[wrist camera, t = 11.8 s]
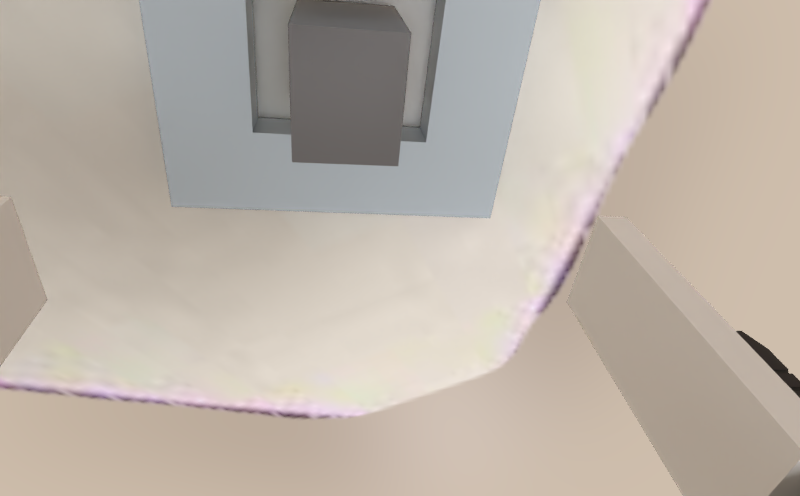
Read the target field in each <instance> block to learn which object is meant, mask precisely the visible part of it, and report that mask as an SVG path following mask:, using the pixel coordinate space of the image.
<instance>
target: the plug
mask: <svg viewBox="0 0 800 496" xmlns="http://www.w3.org/2000/svg"><path fill="white" fill-rule="evenodd" d="M288 36H289V73H290V111H291V148H292V162H297V163H323V164H350V165H376V166H398V164H399V153H400V143H401V133H402V122H403V112H404V102H405V91H406V81H407V70H408V60H409V50H410V39H411V32H410V31H409V29H408V28H407V26H406V24H405V23H404V21H403V20H402V18H401V16H400V15H399V13H398V12H397V10H396V8H395V7H394V6H385V5H373V4H361V3H349V2H336V1H324V0H297V2H296V5H295V7H294V10H293V13H292V15H291V18H290V21H289V23H288Z"/></svg>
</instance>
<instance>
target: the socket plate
mask: <svg viewBox="0 0 800 496" xmlns="http://www.w3.org/2000/svg"><path fill="white" fill-rule="evenodd" d="M139 3H140V10H141V16H142V22H143V29H144V35H145V41H146V48H147V54H148V60H149V67H150V73H151V79H152V85H153V92H154V98H155V104H156V111H157V117H158V123H159V130H160V136H161V142H162V149H163V155H164V161H165V168H166V174H167V180H168V187H169V193H170V199H171V205H172V207H194V208H222V209H250V210H277V211H305V212H333V213H360V214H388V215H415V216H443V217H471V218H490V217H491V213H492V208H493V204H494V200H495V195H496V191H497V187H498V182H499V178H500V174H501V169H502V165H503V161H504V156H505V152H506V148H507V143H508V139H509V135H510V130H511V126H512V122H513V117H514V113H515V109H516V104H517V100H518V96H519V91H520V87H521V83H522V78H523V74H524V70H525V65H526V61H527V56H528V52H529V48H530V43H531V39H532V35H533V30H534V26H535V22H536V17H537V13H538V9H539V4H540V0H437V1H436V9H435V17H434V25H433V32H432V40H431V48H430V55H429V63H428V71H427V78H426V86H425V94H424V101H423V109H422V117H421V125H420V128H419V127H403V126H402V133H401V143H400V153H399V164H398V166H376V165H350V164H323V163H297V162H292V148H291V119H275V118H259V117H258V108H257V87H256V66H255V46H254V25H253V5H252V0H139Z"/></svg>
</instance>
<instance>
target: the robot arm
mask: <svg viewBox="0 0 800 496" xmlns="http://www.w3.org/2000/svg"><path fill="white" fill-rule="evenodd" d="M46 301H47V297H46V295H45V292H44V289H43V286H42V283H41V280H40V278H39V275H38V272H37V269H36V266H35V263H34V261H33V258H32V255H31V252H30V249H29V246H28V244H27V241H26V238H25V235H24V232H23V229H22V226H21V224H20V221H19V218H18V215H17V212H16V209H15V207H14V204H13V201H12V198H11V197H5V196H0V366H1V365H2V363H3V362H4V360H5V359H6V358H7V356H8V355H9V353H10V352H11V351H12V349H13V348H14V346H15V345H16V343H17V342H18V341H19V339H20V338H21V336H22V335H23V334H24V332H25V331H26V329H27V328H28V327H29V325H30V324H31V322H32V321H33V319H34V318H35V317H36V315H37V314H38V312H39V311H40V310H41V308H42V307H43V305H44V304H45V303H46ZM567 304H568V305H569V307H570V309H571V310H572V312H573V314H574V315H575V317H576V319H577V320H578V322H579V324H580V325H581V327H582V329H583V330H584V332H585V334H586V335H587V337H588V338H589V340H590V342H591V344H592V345H593V347H594V349H595V350H596V352H597V353H598V355H599V357H600V358H601V360H602V362H603V364H604V365H605V367H606V369H607V370H608V372H609V373H610V375H611V377H612V379H613V380H614V382H615V384H616V385H617V387H618V389H619V390H620V392H621V393H622V395H623V397H624V399H625V400H626V402H627V403H628V405H629V407H630V408H631V410H632V412H633V413H634V415H635V417H636V418H637V420H638V422H639V423H640V425H641V427H642V428H643V430H644V432H645V433H646V435H647V437H648V438H649V440H650V442H651V443H652V445H653V447H654V448H655V450H656V452H657V453H658V455H659V457H660V458H661V460H662V462H663V463H664V465H665V467H666V468H667V470H668V472H669V473H670V475H671V477H672V478H673V480H674V482H675V483H676V485H677V487H678V488H679V490H680V492H681V493H682V495H683V496H800V381H799V380H798V379H797V378H796V377H795V376H794V375H793V374H789V373H788V369H787V368H786V367H785V366H784V365H783V364H782V363H781V362H780V361H779V360H778V359H777V358H776V357H775V356H774V355H773V354H772V352H771V351H770V350H769V349H767V348H766V347H764V346H763V345H761V344H760V343H758V342H757V341H755V340H754V339H753V338H751V337H749V336H748V335H747V334H745V333H744V332H742V331H735V330H734V329H733V328H732V327H731V326H730V325H729V324H728V323H727V321H726V320H725V319H724V318H723V317H722V316H721V315H720V314H719V313H718V312H717V311H716V310H715V309H714V308H713V307H712V306H711V305H710V304H709V303H708V302H707V301H706V300H705V298H704V297H703V296H702V295H701V294H700V293H699V292H698V291H697V290H696V289H695V288H694V287H693V286H692V285H691V284H690V283H689V282H688V281H687V280H686V279H685V278H684V277H683V276H682V274H681V273H679V271H678V270H677V269H676V268H675V267H674V266H673V265H672V264H671V263H670V262H669V261H668V260H667V259H666V258H665V257H664V256H663V255H662V254H661V253H660V252H659V250H658V249H657V248H656V247H655V246H654V245H653V244H652V243H651V242H650V241H649V240H648V239H647V238H646V237H645V236H644V235H643V234H642V233H641V232H640V231H639V230H638V229H637V227H636V226H635V225H634V224H633V223H632V222H631V221H630V220H629V219H628V218H627V217H614V216H613V217H612V216H598V217H597V220H596V223H595V225H594V228H593V231H592V234H591V236H590V239H589V242H588V245H587V248H586V250H585V253H584V256H583V259H582V261H581V264H580V267H579V270H578V272H577V275H576V278H575V281H574V283H573V286H572V289H571V292H570V295H569V297H568V300H567Z"/></svg>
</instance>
